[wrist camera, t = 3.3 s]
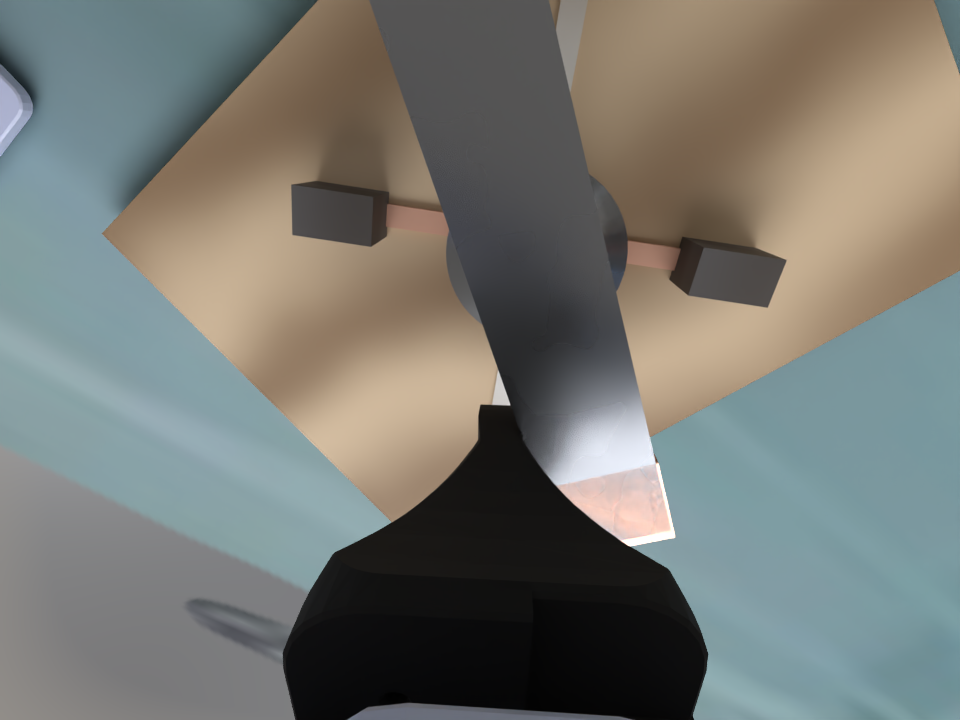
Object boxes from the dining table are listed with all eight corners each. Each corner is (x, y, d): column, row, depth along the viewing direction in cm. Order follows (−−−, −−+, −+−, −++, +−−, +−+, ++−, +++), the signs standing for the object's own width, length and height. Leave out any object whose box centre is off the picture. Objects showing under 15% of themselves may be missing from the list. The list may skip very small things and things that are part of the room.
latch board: (127, 228, 15) (52, 243, 12) (740, -419, 9) (821, -623, 7) (431, 537, 19) (419, 592, 17) (982, 233, 13) (1084, 251, 11)
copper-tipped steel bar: (360, -2, 10) (279, -82, 6) (547, -87, 9) (567, -228, 6) (526, 467, 14) (529, 565, 11) (662, 435, 14) (711, 530, 10)
